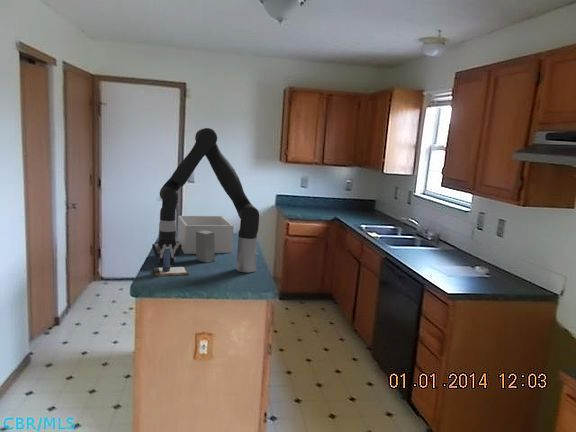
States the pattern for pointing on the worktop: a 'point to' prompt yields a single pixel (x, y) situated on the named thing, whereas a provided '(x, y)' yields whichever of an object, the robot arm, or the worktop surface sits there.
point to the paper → (173, 270)
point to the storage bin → (208, 223)
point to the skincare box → (205, 246)
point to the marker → (166, 259)
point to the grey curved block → (172, 249)
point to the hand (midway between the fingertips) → (166, 264)
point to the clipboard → (170, 273)
